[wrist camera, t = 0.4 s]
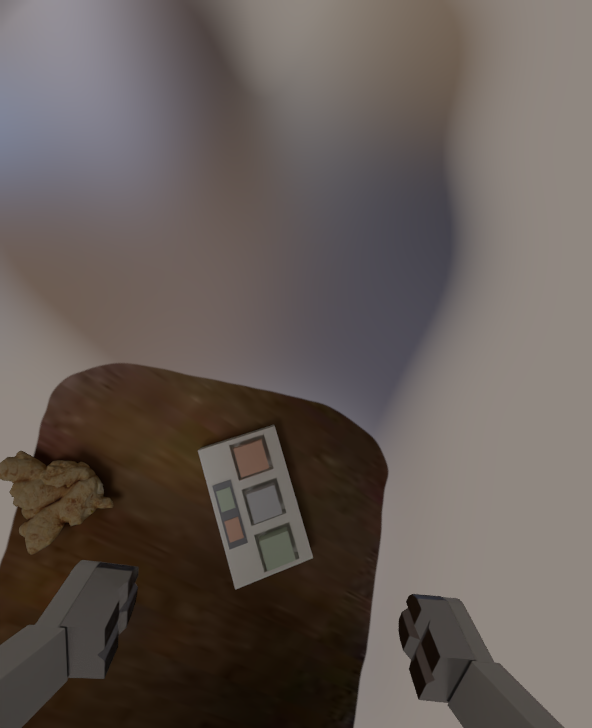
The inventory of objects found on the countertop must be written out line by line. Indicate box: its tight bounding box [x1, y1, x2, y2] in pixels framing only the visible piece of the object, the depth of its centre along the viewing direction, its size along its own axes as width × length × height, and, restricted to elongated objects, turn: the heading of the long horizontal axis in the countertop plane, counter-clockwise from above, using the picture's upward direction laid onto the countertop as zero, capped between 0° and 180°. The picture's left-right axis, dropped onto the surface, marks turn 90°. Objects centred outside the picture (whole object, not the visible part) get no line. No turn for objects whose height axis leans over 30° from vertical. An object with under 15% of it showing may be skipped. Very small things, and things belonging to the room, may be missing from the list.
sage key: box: [259, 527, 296, 571], centre depth 54 cm, size 5×5×2 cm
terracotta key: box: [234, 439, 269, 478], centre depth 55 cm, size 5×5×2 cm
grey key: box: [246, 482, 282, 524], centre depth 54 cm, size 5×5×2 cm
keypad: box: [198, 425, 313, 589], centre depth 56 cm, size 24×14×4 cm, turn 17°
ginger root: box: [0, 451, 114, 555], centre depth 51 cm, size 16×16×8 cm
